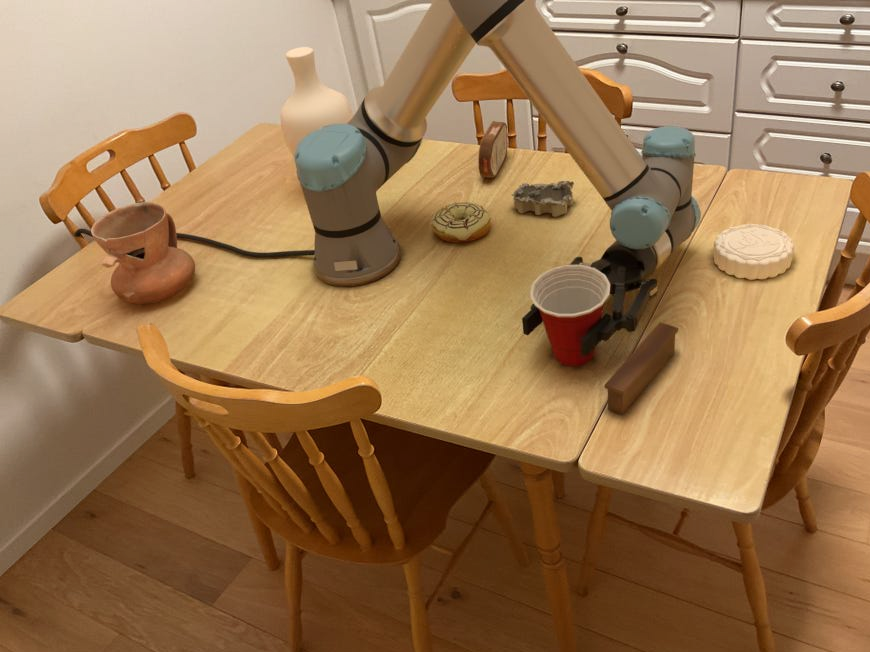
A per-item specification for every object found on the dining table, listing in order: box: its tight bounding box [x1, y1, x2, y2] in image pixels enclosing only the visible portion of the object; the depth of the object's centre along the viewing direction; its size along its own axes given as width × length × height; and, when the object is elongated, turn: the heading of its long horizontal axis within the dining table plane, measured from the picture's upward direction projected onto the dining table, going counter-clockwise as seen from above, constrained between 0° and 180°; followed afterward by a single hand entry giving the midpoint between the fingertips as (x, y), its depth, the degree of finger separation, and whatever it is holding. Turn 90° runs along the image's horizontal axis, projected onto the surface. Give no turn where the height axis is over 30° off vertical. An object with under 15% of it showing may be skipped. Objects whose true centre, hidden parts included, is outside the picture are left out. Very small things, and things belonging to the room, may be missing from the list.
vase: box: [279, 46, 354, 158], centre depth 154 cm, size 14×14×28 cm
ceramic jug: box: [90, 201, 196, 305], centre depth 135 cm, size 18×14×14 cm
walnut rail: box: [604, 321, 679, 416], centre depth 104 cm, size 3×15×4 cm, turn 142°
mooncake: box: [712, 223, 795, 281], centre depth 123 cm, size 12×12×4 cm
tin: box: [478, 120, 509, 179], centre depth 157 cm, size 15×3×8 cm, turn 164°
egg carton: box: [511, 180, 575, 218], centre depth 144 cm, size 11×8×4 cm
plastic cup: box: [529, 264, 610, 367], centre depth 107 cm, size 11×11×12 cm
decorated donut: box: [430, 201, 492, 243], centre depth 141 cm, size 10×11×4 cm
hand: (553, 337), depth 105 cm, fingers closed on plastic cup, 9 cm apart
